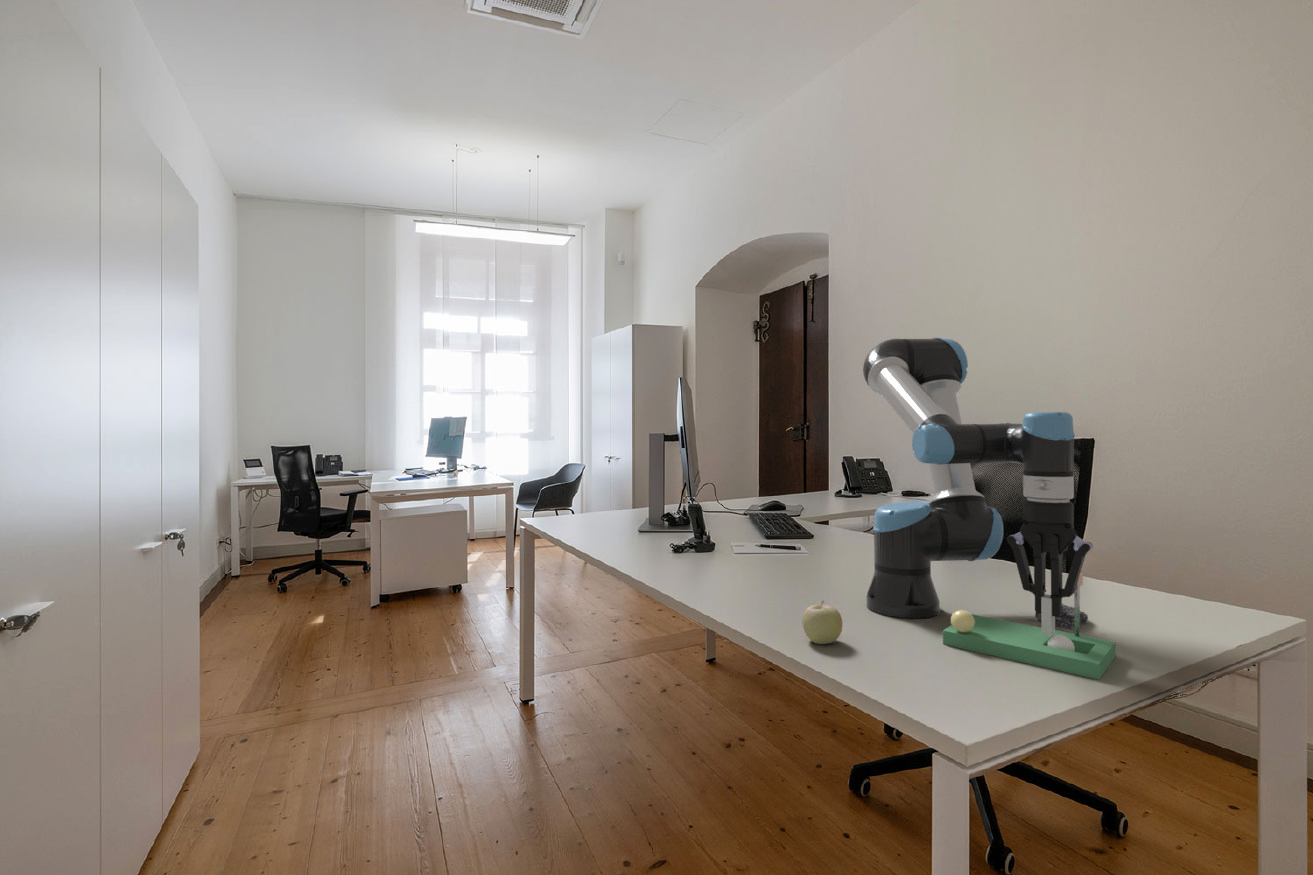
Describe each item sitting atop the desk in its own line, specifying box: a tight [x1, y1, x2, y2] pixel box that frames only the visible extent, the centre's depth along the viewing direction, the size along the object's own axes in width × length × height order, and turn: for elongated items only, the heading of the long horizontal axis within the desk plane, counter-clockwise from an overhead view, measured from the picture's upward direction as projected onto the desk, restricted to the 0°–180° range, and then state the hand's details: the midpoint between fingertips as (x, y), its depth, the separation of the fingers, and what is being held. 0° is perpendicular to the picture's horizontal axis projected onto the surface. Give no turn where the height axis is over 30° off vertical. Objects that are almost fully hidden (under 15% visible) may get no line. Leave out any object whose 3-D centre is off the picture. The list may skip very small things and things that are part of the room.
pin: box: [1073, 570, 1084, 637], centre depth 113 cm, size 1×4×11 cm, turn 135°
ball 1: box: [950, 609, 975, 633], centre depth 114 cm, size 4×4×4 cm
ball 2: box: [1047, 635, 1075, 652], centre depth 108 cm, size 4×4×4 cm
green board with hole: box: [942, 613, 1117, 681], centre depth 112 cm, size 24×14×2 cm, turn 45°
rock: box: [1034, 603, 1089, 630], centre depth 128 cm, size 8×10×4 cm
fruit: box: [801, 600, 843, 645], centre depth 118 cm, size 8×7×8 cm
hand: (1048, 633), depth 110 cm, fingers closed
